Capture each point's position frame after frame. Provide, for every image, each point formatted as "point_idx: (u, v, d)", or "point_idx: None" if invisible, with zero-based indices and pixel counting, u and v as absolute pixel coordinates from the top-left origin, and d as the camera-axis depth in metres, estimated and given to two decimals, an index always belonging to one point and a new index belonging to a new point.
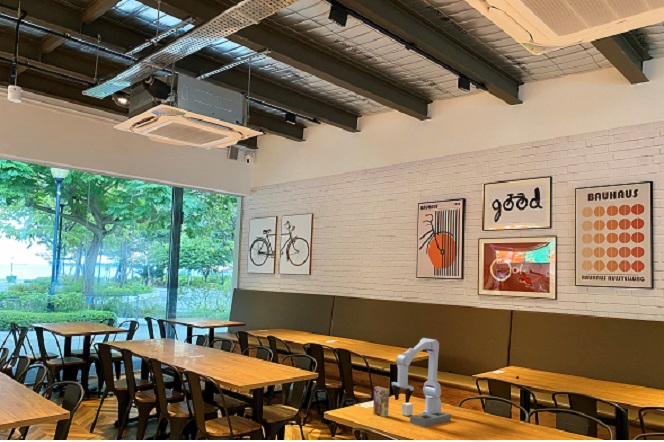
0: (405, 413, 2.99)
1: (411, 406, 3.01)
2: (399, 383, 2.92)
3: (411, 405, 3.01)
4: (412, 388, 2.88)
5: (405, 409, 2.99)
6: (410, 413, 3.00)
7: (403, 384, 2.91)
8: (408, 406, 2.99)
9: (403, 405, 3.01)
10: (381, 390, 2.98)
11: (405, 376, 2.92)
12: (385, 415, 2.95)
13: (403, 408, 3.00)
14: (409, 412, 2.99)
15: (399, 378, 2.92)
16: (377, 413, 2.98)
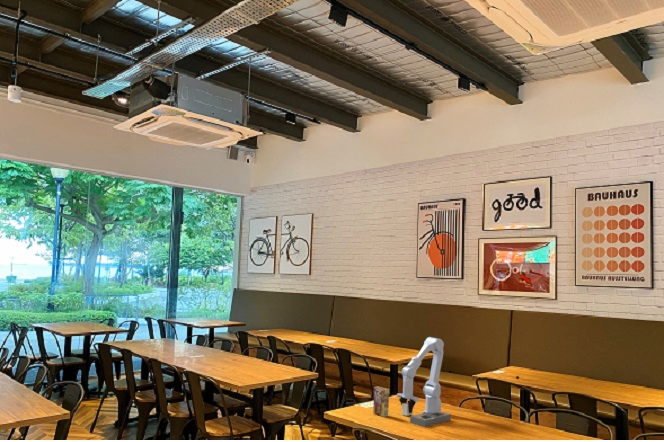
0: (405, 413, 2.99)
1: None
2: (404, 394, 3.00)
3: None
4: (417, 399, 2.97)
5: (405, 409, 2.99)
6: (410, 413, 3.00)
7: (408, 395, 3.00)
8: (408, 406, 2.99)
9: (403, 405, 3.01)
10: (381, 390, 2.98)
11: (409, 388, 3.00)
12: (385, 415, 2.95)
13: (403, 408, 3.00)
14: None
15: (404, 390, 3.01)
16: (377, 413, 2.98)
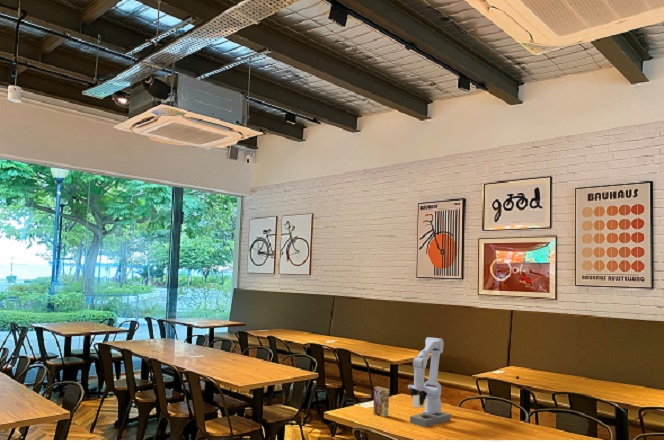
0: (416, 405, 2.90)
1: None
2: (415, 386, 2.92)
3: None
4: (429, 391, 2.88)
5: (416, 401, 2.91)
6: (422, 405, 2.92)
7: (420, 387, 2.91)
8: (419, 398, 2.91)
9: (414, 397, 2.92)
10: (381, 390, 2.98)
11: (423, 379, 2.92)
12: (385, 415, 2.95)
13: (414, 400, 2.92)
14: None
15: (415, 381, 2.92)
16: (377, 413, 2.98)
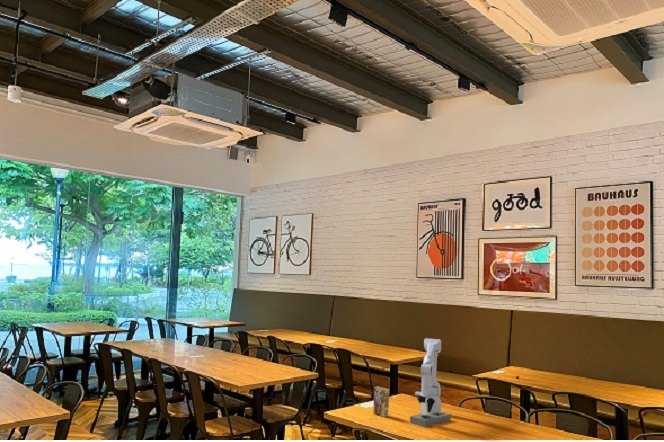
0: (424, 413, 2.84)
1: None
2: (423, 393, 2.86)
3: None
4: (437, 398, 2.82)
5: (424, 408, 2.84)
6: (429, 413, 2.85)
7: (427, 394, 2.85)
8: (427, 405, 2.84)
9: (421, 404, 2.86)
10: (381, 390, 2.98)
11: (431, 385, 2.86)
12: (385, 415, 2.95)
13: (421, 407, 2.85)
14: None
15: (423, 388, 2.86)
16: (377, 413, 2.98)
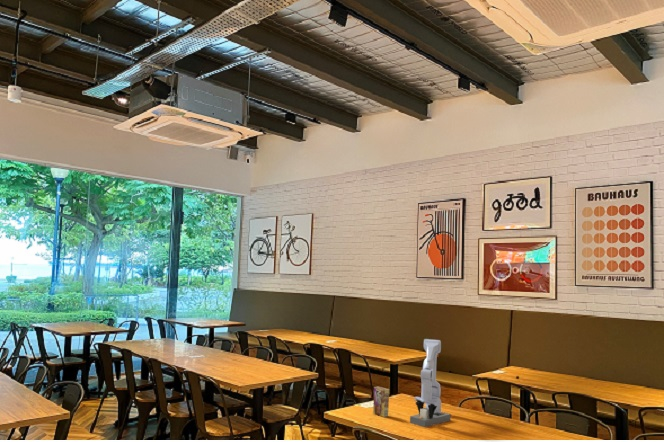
0: None
1: None
2: (423, 398, 2.85)
3: None
4: (437, 403, 2.82)
5: (423, 415, 2.84)
6: None
7: (427, 399, 2.84)
8: (427, 412, 2.84)
9: (421, 411, 2.85)
10: (381, 390, 2.98)
11: (431, 391, 2.86)
12: (385, 415, 2.95)
13: (421, 414, 2.85)
14: (427, 418, 2.84)
15: (423, 393, 2.86)
16: (377, 413, 2.98)
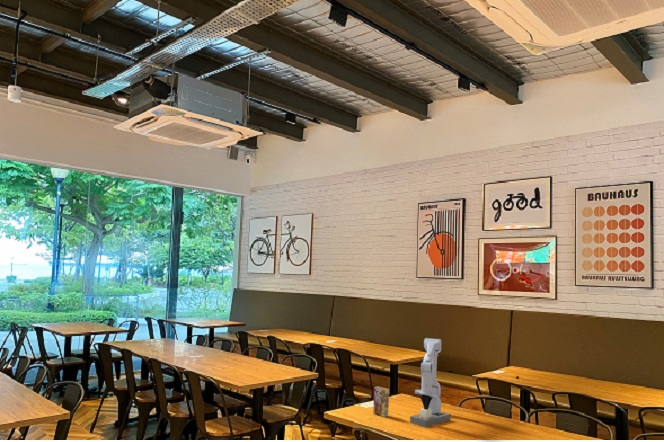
0: None
1: (430, 412, 2.86)
2: (423, 391, 2.86)
3: (430, 411, 2.86)
4: (437, 396, 2.82)
5: (423, 415, 2.84)
6: None
7: (427, 392, 2.85)
8: (427, 412, 2.84)
9: (421, 411, 2.85)
10: (381, 390, 2.98)
11: (431, 383, 2.86)
12: (385, 415, 2.95)
13: (421, 414, 2.85)
14: (427, 418, 2.84)
15: (423, 386, 2.86)
16: (377, 413, 2.98)
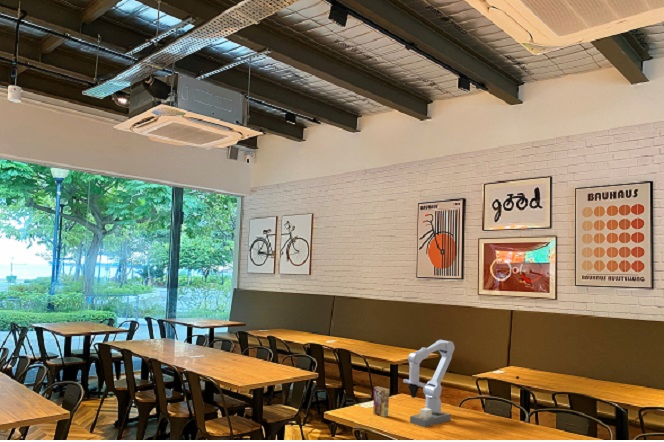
0: None
1: (430, 412, 2.86)
2: (411, 380, 3.03)
3: (430, 411, 2.86)
4: (423, 385, 2.99)
5: (423, 415, 2.84)
6: None
7: (415, 381, 3.02)
8: (427, 412, 2.84)
9: (421, 411, 2.85)
10: (381, 390, 2.98)
11: (416, 373, 3.03)
12: (385, 415, 2.95)
13: (421, 414, 2.85)
14: (427, 418, 2.84)
15: (411, 375, 3.03)
16: (377, 413, 2.98)
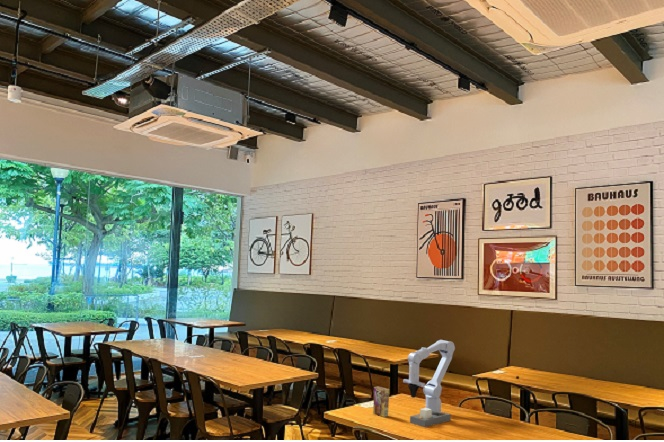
0: None
1: (430, 412, 2.86)
2: (410, 380, 3.03)
3: (430, 411, 2.86)
4: (423, 385, 3.00)
5: (423, 415, 2.84)
6: None
7: (414, 381, 3.02)
8: (427, 412, 2.84)
9: (421, 411, 2.85)
10: (381, 390, 2.98)
11: (415, 373, 3.03)
12: (385, 415, 2.95)
13: (421, 414, 2.85)
14: (427, 418, 2.84)
15: (410, 375, 3.04)
16: (377, 413, 2.98)
